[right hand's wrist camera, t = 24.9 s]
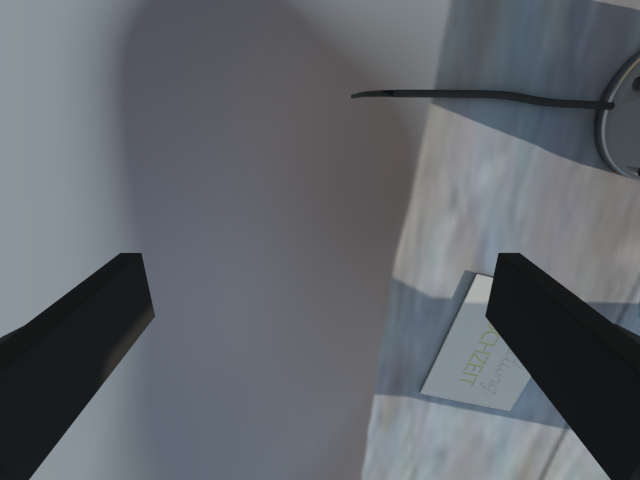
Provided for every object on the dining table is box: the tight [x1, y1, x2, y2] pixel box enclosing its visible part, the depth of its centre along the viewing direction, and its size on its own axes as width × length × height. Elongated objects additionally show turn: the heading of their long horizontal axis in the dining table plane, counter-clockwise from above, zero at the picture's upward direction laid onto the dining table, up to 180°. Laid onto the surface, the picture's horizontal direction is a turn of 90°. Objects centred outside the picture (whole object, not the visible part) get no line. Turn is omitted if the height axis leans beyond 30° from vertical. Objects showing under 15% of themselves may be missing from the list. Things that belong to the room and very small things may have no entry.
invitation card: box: [420, 274, 531, 411], centre depth 49 cm, size 21×1×15 cm
